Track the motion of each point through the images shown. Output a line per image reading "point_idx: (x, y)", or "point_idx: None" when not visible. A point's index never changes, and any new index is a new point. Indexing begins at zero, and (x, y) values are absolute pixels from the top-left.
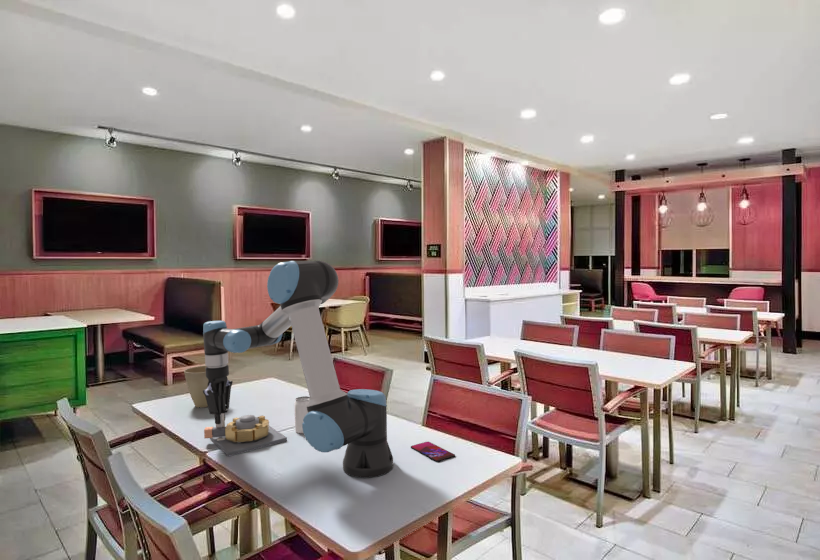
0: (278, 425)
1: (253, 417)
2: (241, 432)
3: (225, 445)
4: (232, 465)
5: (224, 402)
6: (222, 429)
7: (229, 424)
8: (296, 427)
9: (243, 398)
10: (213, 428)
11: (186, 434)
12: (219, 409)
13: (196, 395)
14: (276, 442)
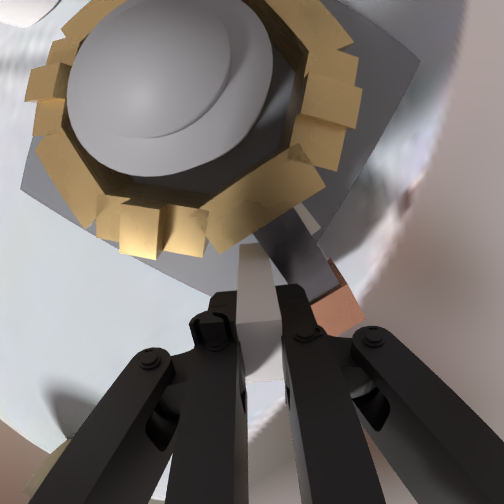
0: (12, 132)
1: (137, 6)
2: (331, 18)
3: (362, 125)
4: (449, 18)
5: (199, 435)
6: (303, 225)
7: (231, 222)
8: None
9: (10, 398)
10: (320, 291)
11: (256, 406)
12: (325, 369)
13: None
14: None
